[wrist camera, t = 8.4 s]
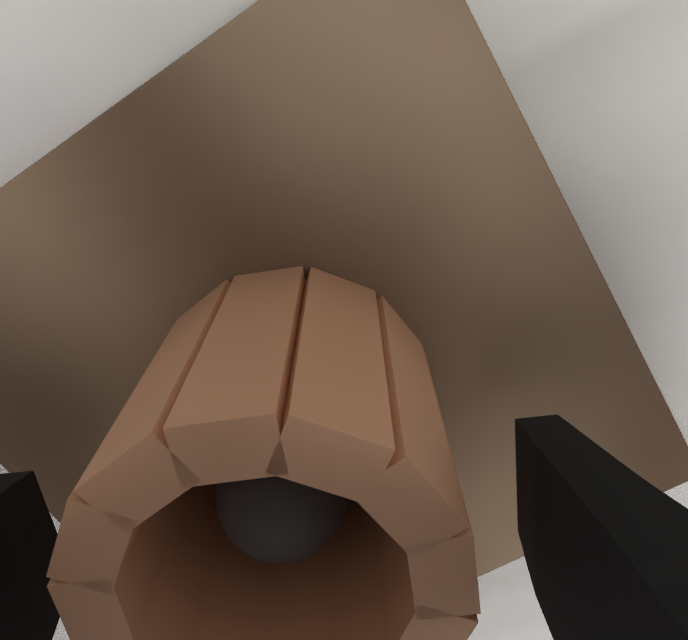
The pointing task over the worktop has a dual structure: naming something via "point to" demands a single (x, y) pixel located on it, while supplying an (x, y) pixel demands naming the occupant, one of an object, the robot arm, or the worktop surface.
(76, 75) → the worktop surface
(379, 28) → the holder
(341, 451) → the tube
